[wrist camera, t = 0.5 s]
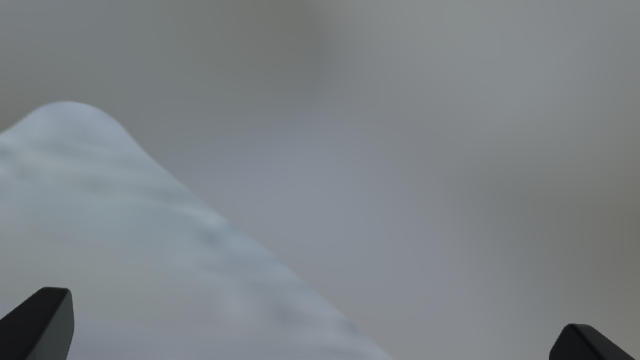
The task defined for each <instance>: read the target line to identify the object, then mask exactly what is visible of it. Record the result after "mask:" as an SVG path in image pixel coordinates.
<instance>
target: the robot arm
mask: <svg viewBox="0 0 640 360" xmlns="http://www.w3.org/2000/svg"><path fill="white" fill-rule="evenodd" d="M73 333H74V314H73V303H72V294H71V292H70V290H69V289H67V288H58V287H43V288H41V289H40V290H38V291H37V292H36V293H34V294H33V295H32V296H30V297H29V298H28V299H27V300H25V301H24V302H23V303H21V304H20V305H19V306H17V307H16V308H15V309H14V310H12V311H11V312H10V313H8V314H7V315H6V316H5V317H3V318H2V319H1V320H0V360H66V358H67V355H68V351H69V348H70V344H71V341H72V337H73ZM549 360H635V359H634V358H632V357H631V356H630V355H629V354H627V353H626V352H624V351H623V350H622V349H621V348H619V347H618V346H617V345H615V344H614V343H613V342H611V341H610V340H609V339H608V338H606V337H605V336H604V335H602V334H601V333H600V332H598V331H597V330H596V329H594V328H593V327H591V326H589V325H585V324H568V325H566V326H565V327H564V328H563V330H562V332H561V333H560V335H559V337H558V339H557V341H556V342H555V344H554V345H553V347H552V349H551V351H550V354H549Z"/></svg>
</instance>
